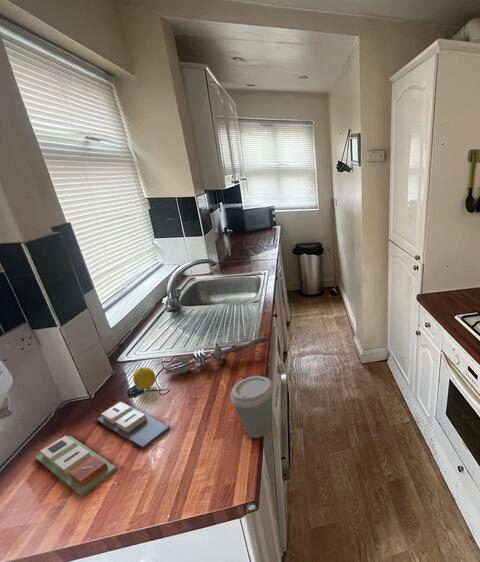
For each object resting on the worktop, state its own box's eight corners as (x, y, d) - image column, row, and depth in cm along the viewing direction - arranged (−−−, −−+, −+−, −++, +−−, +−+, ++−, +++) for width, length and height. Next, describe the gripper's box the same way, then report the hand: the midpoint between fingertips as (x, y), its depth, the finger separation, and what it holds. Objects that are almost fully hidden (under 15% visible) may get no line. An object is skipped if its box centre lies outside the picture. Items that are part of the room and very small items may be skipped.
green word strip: (36, 459, 77) (31, 451, 76) (71, 438, 83) (67, 430, 82) (81, 497, 68) (76, 488, 67) (117, 469, 74) (113, 461, 73)
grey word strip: (97, 421, 88) (94, 414, 87) (124, 404, 93) (121, 397, 92) (143, 449, 79) (140, 441, 78) (170, 429, 85) (167, 421, 83)
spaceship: (268, 339, 110) (264, 323, 115) (158, 375, 99) (159, 355, 104) (272, 351, 116) (268, 335, 121) (169, 386, 105) (169, 367, 110)
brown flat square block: (71, 478, 71) (68, 472, 70) (97, 460, 75) (94, 454, 74) (82, 487, 69) (79, 481, 68) (108, 468, 73) (105, 462, 72)
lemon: (161, 386, 101) (154, 366, 98) (142, 396, 97) (134, 376, 93) (153, 380, 104) (146, 360, 101) (135, 390, 99) (126, 370, 96)
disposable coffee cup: (249, 413, 89) (239, 371, 83) (286, 413, 89) (278, 371, 83) (232, 445, 79) (220, 400, 74) (273, 445, 79) (264, 400, 73)
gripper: (-42, 353, 61) (-8, 406, 66) (-96, 416, 46) (-45, 478, 51) (4, 342, 65) (34, 393, 70) (-31, 397, 50) (9, 457, 55)
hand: (0, 429), depth 61 cm, fingers open, 8 cm apart
